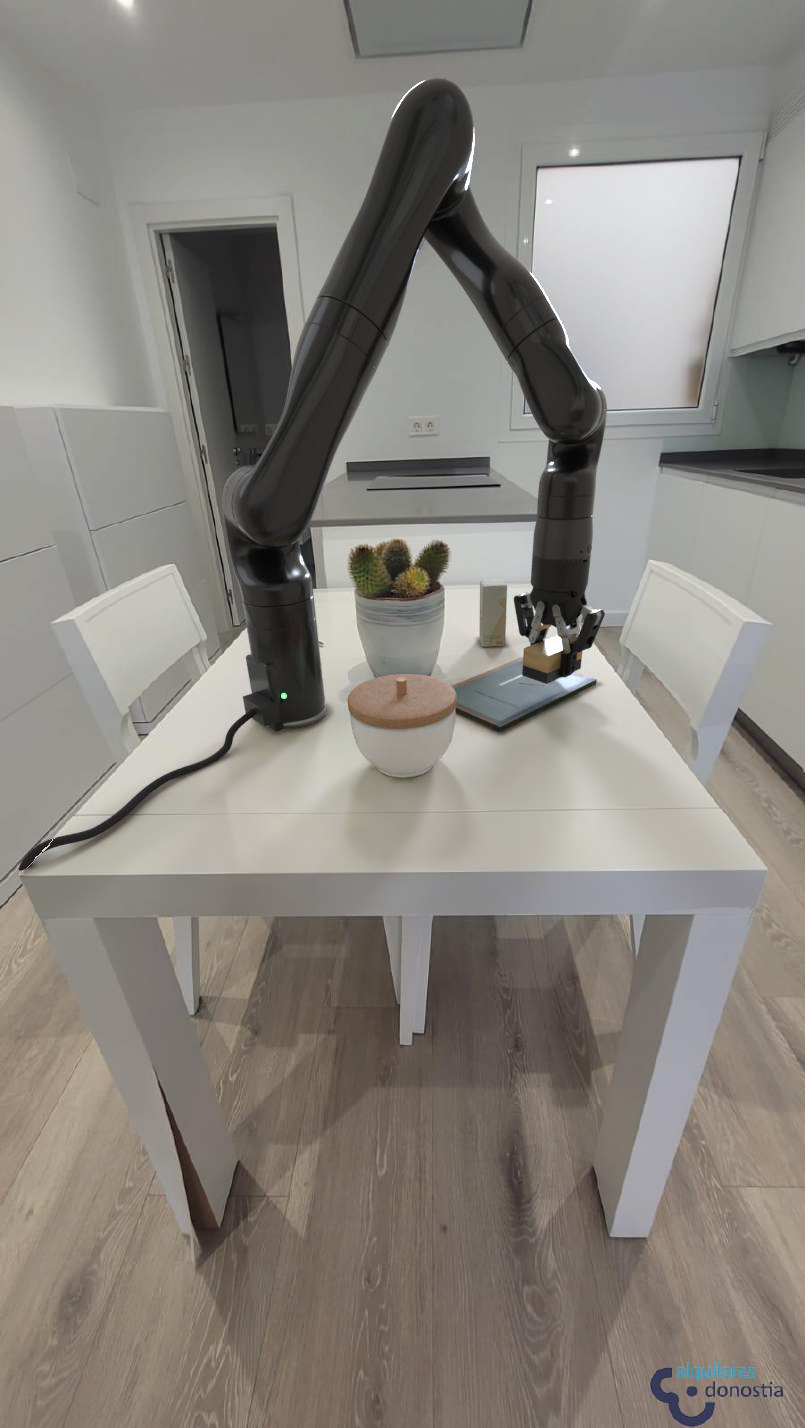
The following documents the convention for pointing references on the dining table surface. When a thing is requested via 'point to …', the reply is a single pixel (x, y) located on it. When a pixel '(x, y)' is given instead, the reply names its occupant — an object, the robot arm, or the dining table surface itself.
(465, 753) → the dining table surface
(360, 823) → the dining table surface
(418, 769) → the lidded bowl
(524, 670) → the eraser
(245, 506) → the robot arm
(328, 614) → the dining table surface
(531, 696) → the chalkboard
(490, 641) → the box
